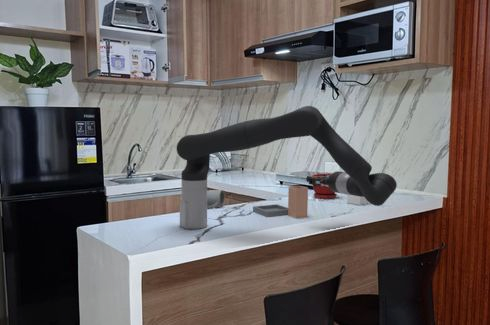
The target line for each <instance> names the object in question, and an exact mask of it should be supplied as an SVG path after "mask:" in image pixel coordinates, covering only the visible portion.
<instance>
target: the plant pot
mask: <svg viewBox="0 0 490 325" xmlns="http://www.w3.org/2000/svg"><path fill="white" fill-rule="evenodd" d="M331 174H332V173H317V174H316V173H315V174H312V175H311V177H318V176H325V175H331ZM322 179H323V178H321V181H322ZM322 184H323V183H322ZM312 189H313V192H314V193H313V197H315V198H316V199H319V200H322V199H323V200H330V199H331V200H332V199H335V198H336V197H337V195H338V194H337V193H336V192H333V191H332V190H331V189H330V188H329V187H326V186H316V185H312Z"/></svg>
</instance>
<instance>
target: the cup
mask: <svg viewBox="0 0 490 325" xmlns="http://www.w3.org/2000/svg"><path fill="white" fill-rule="evenodd" d="M308 195H309V187H307V186H302V185H295V186H294V185H293V186H288V195H287V196H288V197H287V199H288V202H287V203H288V204H287V205H288V206H287V208H288V215H287V216H289V217H290V218H291V217H292V218H294V219H300V218H301V219H303V218H308V212H309V211H308V208H309V206H308V205H309V204H308V202H309V198H308V197H309V196H308Z"/></svg>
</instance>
